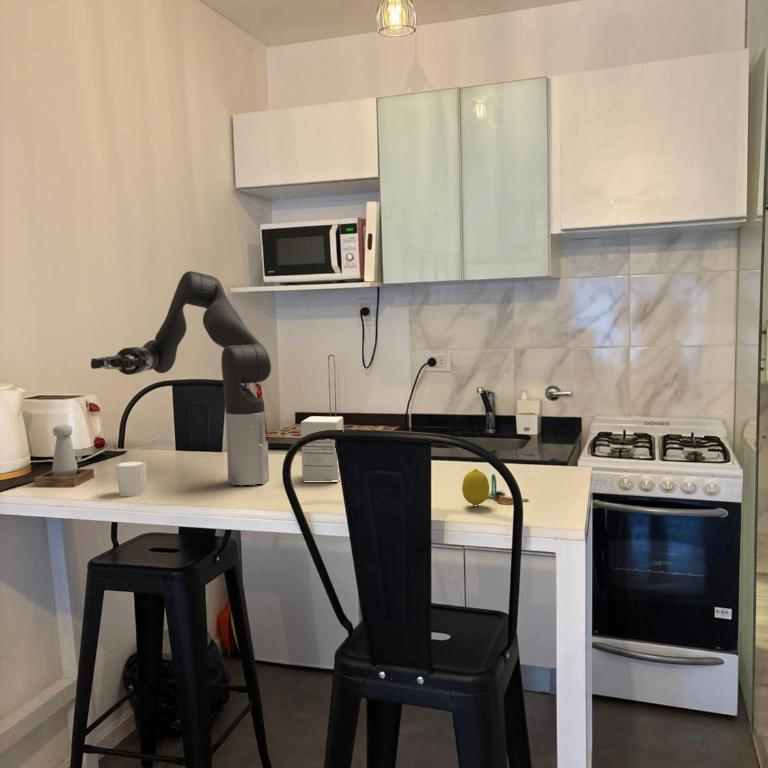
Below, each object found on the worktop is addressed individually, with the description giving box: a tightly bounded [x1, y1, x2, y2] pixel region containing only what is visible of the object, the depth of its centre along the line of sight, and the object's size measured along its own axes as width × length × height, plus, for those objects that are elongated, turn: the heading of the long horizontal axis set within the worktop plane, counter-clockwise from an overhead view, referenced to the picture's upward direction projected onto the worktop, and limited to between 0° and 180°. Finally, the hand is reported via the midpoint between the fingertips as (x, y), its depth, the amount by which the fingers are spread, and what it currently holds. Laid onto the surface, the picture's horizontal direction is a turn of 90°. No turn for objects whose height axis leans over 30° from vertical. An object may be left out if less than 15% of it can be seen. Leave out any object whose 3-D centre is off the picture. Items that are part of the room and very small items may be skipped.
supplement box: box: [300, 415, 344, 482], centre depth 178 cm, size 9×9×15 cm
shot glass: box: [114, 460, 147, 497], centre depth 167 cm, size 7×7×7 cm
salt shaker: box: [51, 424, 79, 477], centre depth 180 cm, size 6×6×13 cm
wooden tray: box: [33, 468, 95, 488], centre depth 180 cm, size 10×10×2 cm
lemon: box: [461, 468, 490, 506], centre depth 151 cm, size 6×6×8 cm
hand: (108, 364), depth 191 cm, fingers open, 8 cm apart
